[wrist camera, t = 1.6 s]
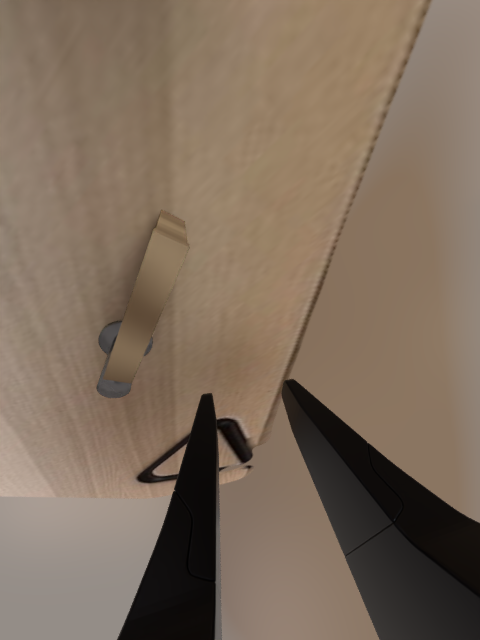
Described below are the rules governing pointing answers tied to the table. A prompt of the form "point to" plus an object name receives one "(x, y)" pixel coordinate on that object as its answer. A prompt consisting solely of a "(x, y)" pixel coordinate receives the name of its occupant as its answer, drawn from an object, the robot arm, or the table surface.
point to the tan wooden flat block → (148, 296)
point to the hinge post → (107, 343)
